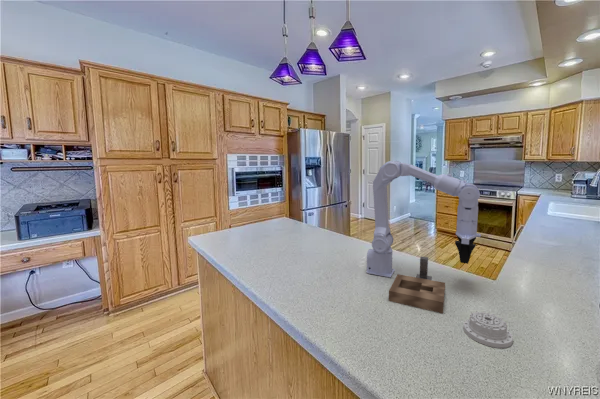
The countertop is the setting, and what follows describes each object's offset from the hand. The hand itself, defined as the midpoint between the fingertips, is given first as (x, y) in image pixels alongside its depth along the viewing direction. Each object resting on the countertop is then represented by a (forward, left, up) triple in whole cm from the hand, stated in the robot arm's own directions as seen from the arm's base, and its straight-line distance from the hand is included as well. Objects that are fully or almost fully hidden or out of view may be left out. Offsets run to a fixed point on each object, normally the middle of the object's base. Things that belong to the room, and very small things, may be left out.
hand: (464, 259), depth 88 cm
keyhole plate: (-13, -14, -10) cm, 21 cm away
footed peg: (-12, -1, -10) cm, 16 cm away
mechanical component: (+5, -26, -10) cm, 28 cm away
